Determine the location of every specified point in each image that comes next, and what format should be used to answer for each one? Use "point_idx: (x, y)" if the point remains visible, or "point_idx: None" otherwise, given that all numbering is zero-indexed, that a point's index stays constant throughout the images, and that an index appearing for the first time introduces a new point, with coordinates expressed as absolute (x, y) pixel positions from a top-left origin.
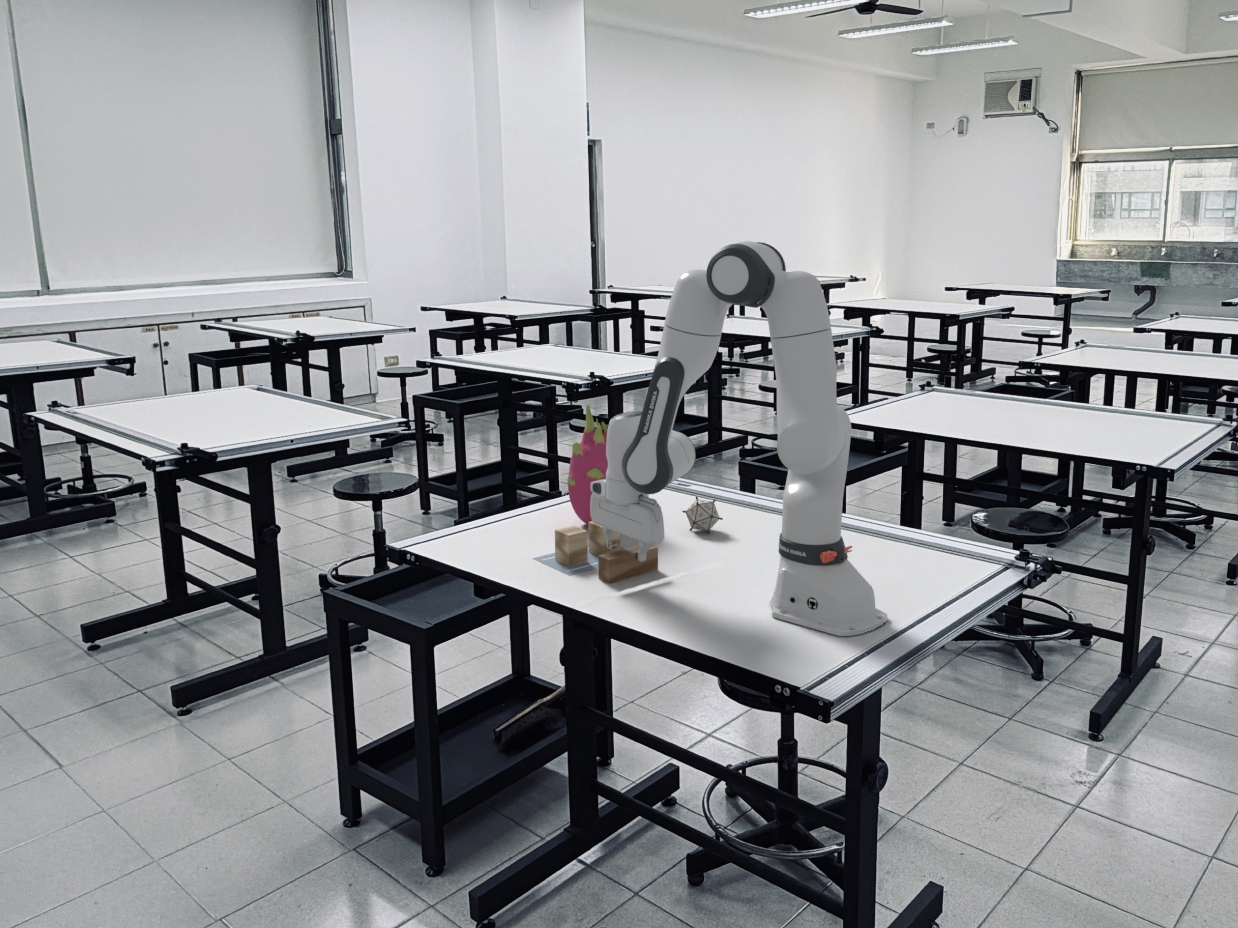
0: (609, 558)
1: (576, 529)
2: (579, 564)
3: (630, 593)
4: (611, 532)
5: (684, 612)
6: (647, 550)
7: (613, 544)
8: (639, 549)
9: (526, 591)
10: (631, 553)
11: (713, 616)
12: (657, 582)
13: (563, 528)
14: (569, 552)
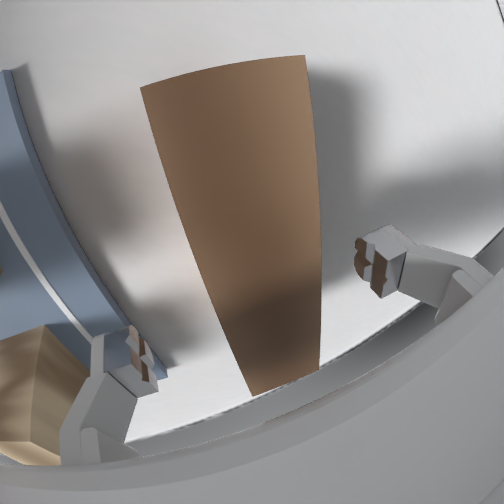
0: (306, 368)
1: (19, 450)
2: (69, 347)
3: (350, 249)
4: (96, 423)
5: (470, 181)
6: (434, 250)
7: (144, 361)
8: (424, 300)
9: (212, 415)
10: (312, 287)
11: (496, 146)
12: (326, 124)
13: (19, 460)
14: None
